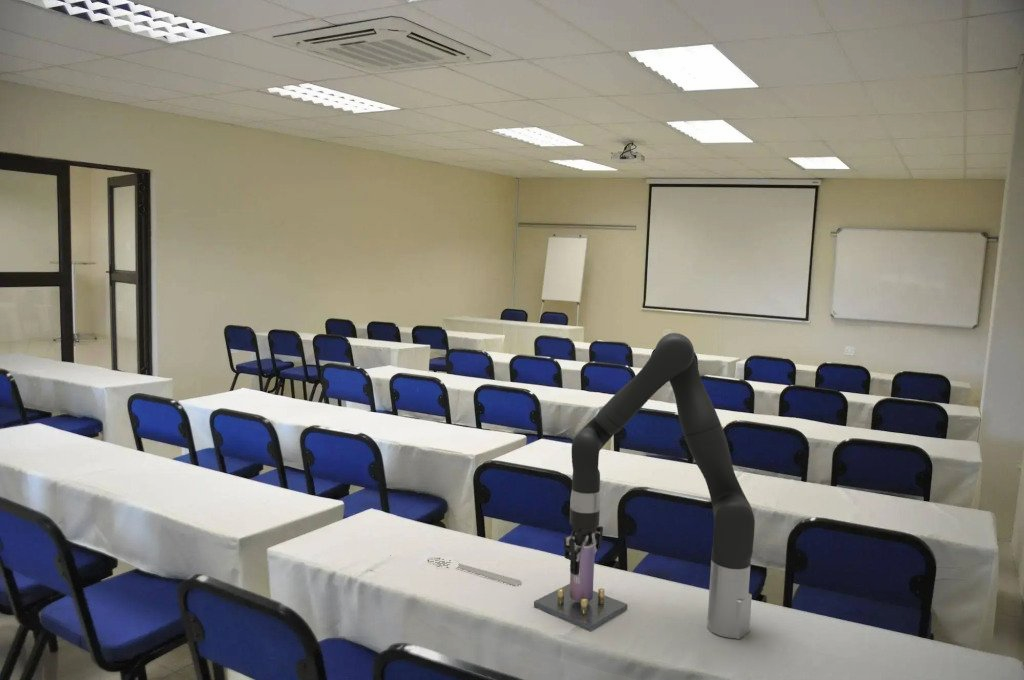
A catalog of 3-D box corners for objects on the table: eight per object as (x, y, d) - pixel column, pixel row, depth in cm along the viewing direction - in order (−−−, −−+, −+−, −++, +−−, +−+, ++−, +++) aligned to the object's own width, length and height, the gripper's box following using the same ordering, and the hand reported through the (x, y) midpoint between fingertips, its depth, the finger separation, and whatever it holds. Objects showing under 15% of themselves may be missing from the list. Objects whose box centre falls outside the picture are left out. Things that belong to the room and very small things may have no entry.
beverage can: (597, 598, 188) (599, 542, 187) (583, 606, 184) (585, 548, 182) (579, 591, 192) (581, 536, 191) (564, 598, 188) (566, 542, 186)
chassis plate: (627, 609, 188) (628, 591, 188) (590, 631, 177) (591, 611, 176) (571, 587, 200) (572, 570, 200) (533, 606, 189) (534, 588, 188)
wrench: (436, 554, 221) (436, 552, 221) (528, 580, 205) (528, 577, 205) (419, 564, 214) (419, 561, 214) (513, 592, 198) (513, 589, 198)
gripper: (579, 517, 178) (577, 583, 180) (613, 504, 189) (610, 566, 190) (555, 509, 183) (553, 574, 185) (589, 497, 194) (587, 558, 195)
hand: (582, 570), depth 187 cm, fingers closed on beverage can, 6 cm apart
